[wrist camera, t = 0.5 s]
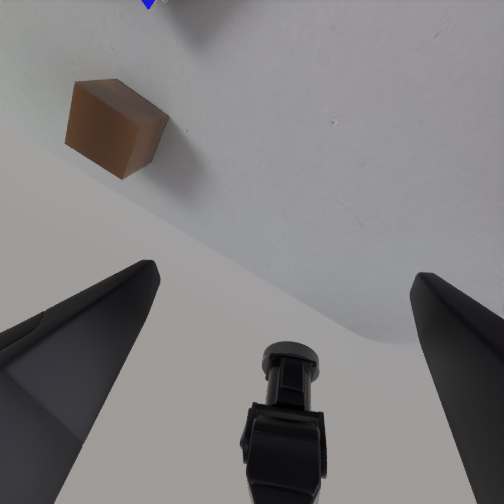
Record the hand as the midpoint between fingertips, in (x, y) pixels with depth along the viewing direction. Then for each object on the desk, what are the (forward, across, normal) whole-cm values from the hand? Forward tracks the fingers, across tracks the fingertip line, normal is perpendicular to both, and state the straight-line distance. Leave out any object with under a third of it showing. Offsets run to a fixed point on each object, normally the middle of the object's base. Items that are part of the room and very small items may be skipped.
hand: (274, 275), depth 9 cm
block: (+12, +11, -3) cm, 17 cm away
